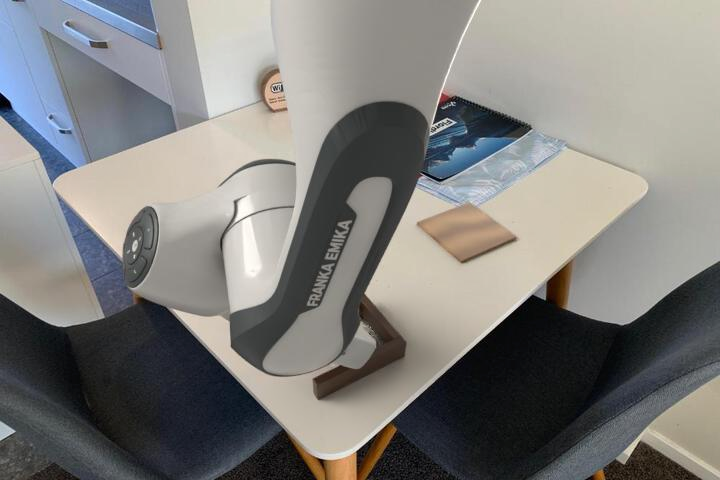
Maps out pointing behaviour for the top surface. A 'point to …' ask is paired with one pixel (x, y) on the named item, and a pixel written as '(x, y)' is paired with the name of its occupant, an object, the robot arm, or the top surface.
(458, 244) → the cork mat
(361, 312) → the can rack
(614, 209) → the top surface
